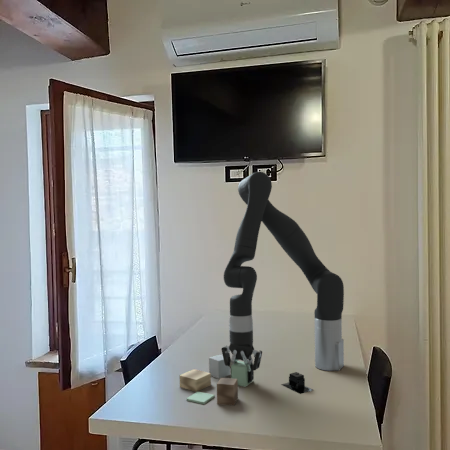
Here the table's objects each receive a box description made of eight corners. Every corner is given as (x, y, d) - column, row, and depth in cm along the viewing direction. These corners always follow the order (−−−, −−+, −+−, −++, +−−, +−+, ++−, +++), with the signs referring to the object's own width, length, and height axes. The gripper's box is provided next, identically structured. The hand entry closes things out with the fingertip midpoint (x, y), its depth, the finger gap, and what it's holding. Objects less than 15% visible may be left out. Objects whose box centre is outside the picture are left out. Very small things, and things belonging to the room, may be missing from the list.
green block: (252, 381, 159) (252, 363, 158) (245, 386, 154) (245, 367, 154) (238, 379, 161) (238, 360, 161) (231, 384, 157) (231, 365, 156)
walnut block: (237, 398, 145) (237, 378, 145) (234, 405, 140) (233, 384, 140) (221, 397, 146) (221, 377, 146) (217, 404, 141) (216, 383, 141)
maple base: (210, 385, 156) (210, 373, 156) (196, 392, 151) (196, 379, 151) (194, 381, 161) (194, 369, 160) (179, 387, 155) (179, 375, 155)
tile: (214, 396, 146) (214, 394, 146) (204, 404, 141) (203, 402, 141) (197, 393, 149) (197, 391, 149) (186, 400, 144) (186, 398, 144)
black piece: (319, 392, 150) (318, 377, 150) (300, 398, 146) (300, 382, 146) (292, 380, 160) (292, 366, 160) (274, 385, 156) (274, 371, 156)
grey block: (230, 375, 165) (229, 357, 165) (218, 378, 162) (218, 360, 161) (220, 371, 169) (220, 354, 168) (209, 375, 165) (208, 357, 165)
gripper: (266, 327, 157) (267, 380, 157) (227, 323, 164) (228, 373, 164) (256, 333, 150) (257, 388, 151) (215, 328, 157) (216, 380, 158)
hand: (242, 380), depth 158 cm, fingers closed on green block, 5 cm apart
